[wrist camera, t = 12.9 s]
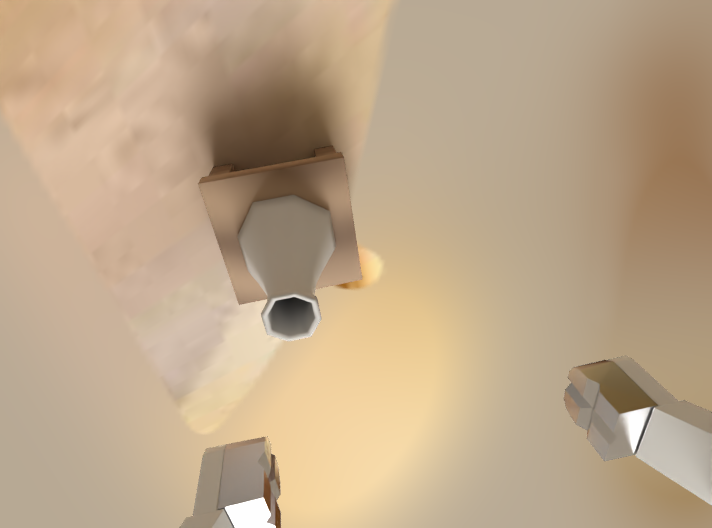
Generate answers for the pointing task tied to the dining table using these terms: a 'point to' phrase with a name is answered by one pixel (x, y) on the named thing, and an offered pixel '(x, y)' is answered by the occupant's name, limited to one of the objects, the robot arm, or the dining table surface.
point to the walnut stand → (301, 178)
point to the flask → (288, 261)
